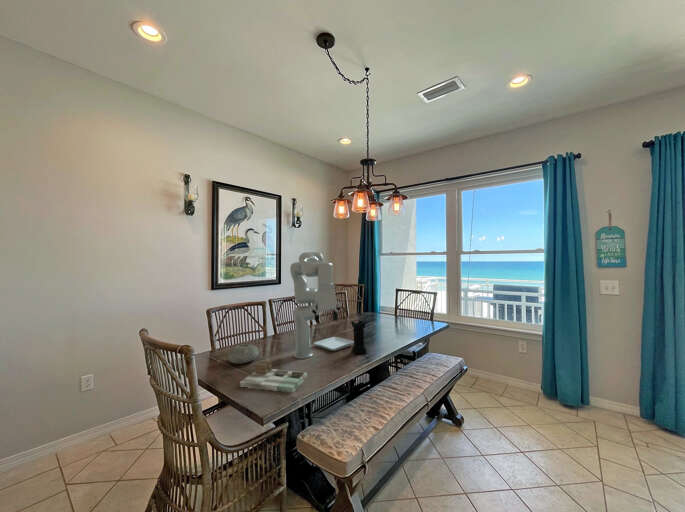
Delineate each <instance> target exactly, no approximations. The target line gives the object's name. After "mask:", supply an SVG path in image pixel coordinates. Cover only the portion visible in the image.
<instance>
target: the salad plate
mask: <svg viewBox="0 0 685 512" xmlns="http://www.w3.org/2000/svg"><path fill="white" fill-rule="evenodd" d="M313 344H314V345H315V346H316V347H319V348H321V349H324V350H326V351H327V350H328V351H332V352H336V351H340V350H342V349H344V348H348V347H350V346H353V345H354V340H351V339H347V338H342V337H339V336H331V337H329V338H324V339H322V340H318V341H315V342H313Z"/></svg>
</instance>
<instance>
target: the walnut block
mask: <svg viewBox="0 0 685 512" xmlns="http://www.w3.org/2000/svg"><path fill="white" fill-rule="evenodd" d="M254 365H255V367H254V368H255V371H254V372H255V373H256V374H263V375H266V374H267V373H269V372H270V371H271V370H272V369H273V368H272V367H273V366H272V360H263V359H261V360H260V361H258V362H257V363H255V364H254Z"/></svg>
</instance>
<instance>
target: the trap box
mask: <svg viewBox="0 0 685 512" xmlns="http://www.w3.org/2000/svg"><path fill="white" fill-rule="evenodd" d="M307 378H308V371H307V372H306V371H297V370H286V369H285V370H284V369H278V368H277V369H275V368H272V370H271V371H270V372H269V373H267V374H266V375H263V374H256V373H255V371H253V372H252V373H251V374H249V375H247V376H246V377H245V378H244V379H242V380H241V381H239V387H240V386H241V387H240V388H242V387H248V388H247V389H251V388H257V389H256V390H260V389H264V390H263V391H269V390H273V391H272V392H278V391H281V392H280V393H287V392H289V394H293V393H294V392H295V391H296V390H297V389H298V388H299V386H300V385H302V384H303V382H304V381H306V379H307Z"/></svg>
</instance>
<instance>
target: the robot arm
mask: <svg viewBox="0 0 685 512" xmlns="http://www.w3.org/2000/svg"><path fill="white" fill-rule="evenodd" d="M333 267H334V266H333V263H332V262H329V261H328V262H326V261H324V257H323V254H322V253H321V252H319V251H315V252H313V251H308V252H306V251H305V252H302V253H301V254H299V256H298V261H296V262H293V263H291V264H290V268H289V269H290V270H289V271H290V276H291V278H292V281H293V287H294V289H293V290H294V301H295V303H296V304H298V305H299V306H297V307H295V308H294V309H293V313H292V314H293V319H294V331H295V332H294V333H295V338H294V339H295V352H293V354H292V356H293V358H295V359H300V360H301V359H303V360H304V359H310V358H311V357H313V356H314V351H312V348H313V347H312V345H311V327H310V325H309V324H308V321H314V322H315V323H316V324H320V318H321V312H323V311H332V318H333V319H332V320H334V321H335V322H337V321H338V314H339V311H340V310H341V307H342V305H343V304H342V302H340V301H338V300H337V296H336V295H337V294H336V292H335V289H334V288H336V284H335V283H334V275H333V274H334V273H333V271H334V270H333ZM304 276H305V277H307V278H311V277H315V278H316V277H317V288H313V287H311V288H308V281H307V279H306V278H305V277H304ZM304 304H309V305H304ZM310 304H311V305H310Z"/></svg>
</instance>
